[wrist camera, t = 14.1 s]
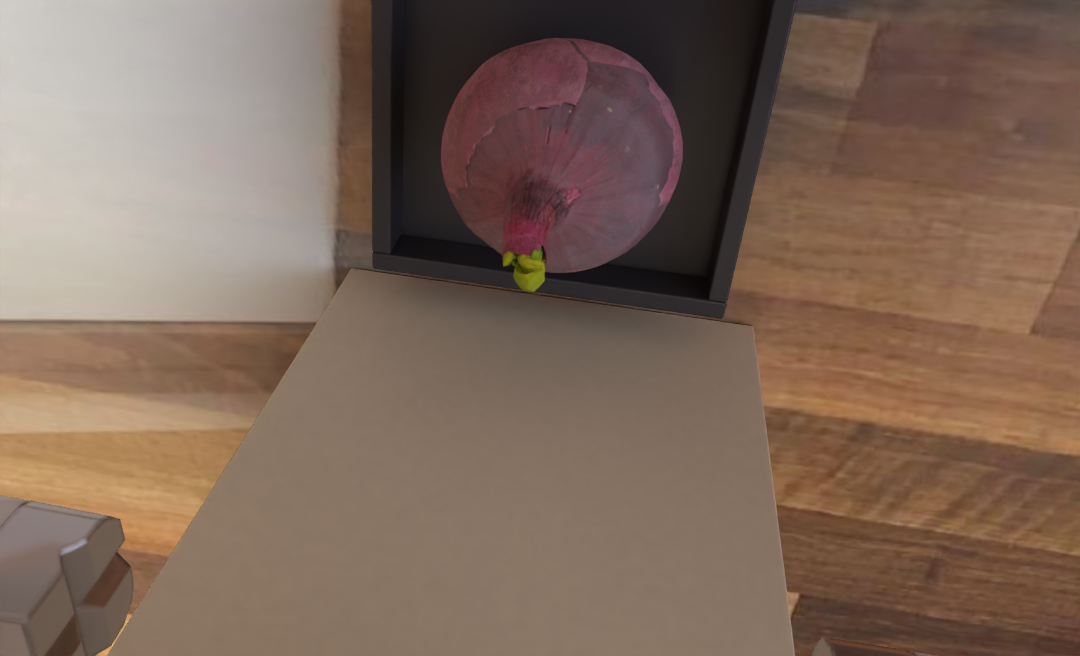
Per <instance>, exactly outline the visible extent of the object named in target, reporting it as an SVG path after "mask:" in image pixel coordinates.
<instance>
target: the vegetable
mask: <svg viewBox="0 0 1080 656" xmlns="http://www.w3.org/2000/svg"><path fill="white" fill-rule="evenodd" d="M682 160H683V141H682V135H681V129H680V125H679V122H678V119H677V116H676V113H675V110H674V108H673V106H672V104H671V102H670V100H669V98H668V97H667V96H666V95H665V93H664V92H663V91H662V89H661V88H660V87H659V86H658V85H657V83H656V82H655V80H654V79H653V77H652V76H651V75H650V73H649V72H648V71H647V70H646V69H645V68H644V67H643V66H642V65H641V64H640V63H639V62H638V61H636V60H635V59H634V58H632V57H631V56H629V55H628V54H626V53H624V52H622V51H620V50H618V49H616V48H613V47H611V46H608V45H605V44H601V43H597V42H593V41H589V40H584V39H573V38H548V39H542V40H539V41H534V42H529V43H525V44H521V45H518V46H515V47H512V48H509V49H506V50H504V51H502V52H501V53H499V54H497V55H495V56H493V57H491V58H490V59H488V60H487V61H486V62H484V63H483V64H482V65H481V66H480V67H479V68H478V69H477V70H476V72H475V73H474V74H473V75H472V76H471V77H470V78H469V80H468V81H467V82H466V83H465V85H464V86H463V87H462V88H461V90H460V92H459V93H458V95H457V97H456V99H455V101H454V103H453V105H452V108H451V110H450V112H449V114H448V117H447V120H446V124H445V127H444V132H443V136H442V147H441V163H442V173H443V177H444V180H445V184H446V187H447V190H448V192H449V195H450V198H451V200H452V202H453V204H454V206H455V208H456V210H457V211H458V213H459V215H460V216H461V218H462V220H463V221H464V223H465V224H466V225H467V226H468V227H469V229H470V230H471V231H472V232H473V233H474V234H475V235H477V236H478V237H479V238H481V239H482V240H483V241H484V242H485V243H487V244H488V245H489V246H490V247H492V248H493V249H494V250H496V251H497V252H498V253H500V254H501V255H502V256H503V266H509V265H511V264H512V265H513V266H515V270H514V275H513V277H514V279H515V282H516V283H517V284H518V286H519V287H520V288H521V289H522V290H524V291H526V292H534V291H535V290H536V289H538V288H539V287H540V286H541V284H542V283H543V282H544V281H545V272H550V273H568V272H578V271H582V270H587V269H591V268H594V267H597V266H600V265H602V264H604V263H607V262H609V261H611V260H613V259H615V258H617V257H618V256H620V255H622V254H624V253H625V252H627V251H628V250H629V249H631V248H632V247H633V246H635V245H637V243H638V242H639V241H640V240H641V239H642V238H643V237H644V236H645V235H646V234H647V233H648V232H649V231H650V230H651V229H652V228H653V227H654V225H655V224H656V223H657V222H658V220H659V219H660V217H661V216H662V214H663V212H664V210H665V208H666V206H667V204H668V203H669V201H670V199H671V197H672V194H673V192H674V190H675V187H676V185H677V182H678V178H679V175H680V171H681V165H682Z"/></svg>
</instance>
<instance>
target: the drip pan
mask: <svg viewBox="0 0 1080 656" xmlns="http://www.w3.org/2000/svg"><path fill="white" fill-rule="evenodd" d="M796 3H797V0H372V250H373V253H372V266H373V268H374V269H381V270H388V271H395V272H402V273H409V274H416V275H423V276H430V277H437V278H443V279H450V280H457V281H464V282H471V283H478V284H485V285H492V286H499V287H506V288H513V289H520V290H522V289H521V288H520V287H519V286H518V284H517V283H516V282H515V279H514V277H513V275H514V270H515V266H513V265H512V264H511V265H509V266H503V256H502V255H501V254H500V253H498V252H497V251H496V250H494V249H493V248H492V247H490V246H489V245H488V244H487V243H485V242H484V241H483V240H482V239H481V238H479V237H478V236H477V235H475V234H474V233H473V232H472V231H471V230H470V229H469V227H468V226H467V225H466V224H465V223H464V221H463V220H462V218H461V216H460V215H459V213H458V211H457V210H456V208H455V206H454V204H453V202H452V200H451V198H450V195H449V192H448V190H447V187H446V184H445V180H444V177H443V173H442V163H441V147H442V136H443V132H444V127H445V124H446V120H447V117H448V114H449V112H450V110H451V108H452V105H453V103H454V101H455V99H456V97H457V95H458V93H459V92H460V90H461V88H462V87H463V86H464V85H465V83H466V82H467V81H468V80H469V78H470V77H471V76H472V75H473V74H474V73H475V72H476V70H477V69H478V68H479V67H480V66H481V65H482V64H483V63H484V62H486V61H487V60H488V59H490V58H491V57H493V56H495V55H497V54H499V53H501V52H502V51H504V50H506V49H509V48H512V47H515V46H518V45H521V44H525V43H529V42H534V41H539V40H542V39H548V38H573V39H584V40H589V41H593V42H597V43H601V44H605V45H608V46H611V47H613V48H616V49H618V50H620V51H622V52H624V53H626V54H628V55H629V56H631V57H632V58H634V59H635V60H636V61H638V62H639V63H640V64H641V65H642V66H643V67H644V68H645V69H646V70H647V71H648V72H649V73H650V75H651V76H652V77H653V79H654V80H655V82H656V83H657V85H658V86H659V87H660V88H661V89H662V91H663V92H664V93H665V95H666V96H667V97H668V98H669V100H670V102H671V104H672V106H673V108H674V110H675V113H676V116H677V119H678V122H679V125H680V129H681V135H682V141H683V160H682V165H681V171H680V175H679V178H678V182H677V185H676V187H675V190H674V192H673V194H672V197H671V199H670V201H669V203H668V204H667V206H666V208H665V210H664V212H663V214H662V216H661V217H660V219H659V220H658V222H657V223H656V224H655V225H654V227H653V228H652V229H651V230H650V231H649V232H648V233H647V234H646V235H645V236H644V237H643V238H642V239H641V240H640V241H639V242H638V243H637V245H635V246H633V247H632V248H631V249H629V250H628V251H627V252H625V253H624V254H622V255H620V256H618V257H617V258H615V259H613V260H611V261H609V262H607V263H604V264H602V265H600V266H597V267H594V268H591V269H587V270H582V271H578V272H568V273H550V272H545V281H544V282H543V283H542V284H541V286H540V287H539V288H538V289H536V290H535V291H534V292H540V293H547V294H554V295H561V296H568V297H575V298H582V299H589V300H596V301H603V302H609V303H616V304H623V305H630V306H637V307H644V308H651V309H658V310H665V311H672V312H679V313H686V314H692V315H699V316H706V317H713V318H720V319H722V318H723V317H724V313H725V308H726V301H727V300H728V295H729V291H730V287H731V283H732V278H733V274H734V270H735V265H736V261H737V257H738V252H739V248H740V244H741V240H742V235H743V231H744V227H745V222H746V218H747V214H748V209H749V205H750V201H751V197H752V192H753V188H754V184H755V179H756V175H757V171H758V166H759V162H760V158H761V154H762V149H763V145H764V141H765V136H766V132H767V128H768V123H769V119H770V115H771V111H772V106H773V102H774V98H775V93H776V89H777V85H778V80H779V76H780V72H781V67H782V63H783V59H784V55H785V50H786V46H787V42H788V37H789V33H790V29H791V24H792V20H793V16H794V12H795V7H796Z"/></svg>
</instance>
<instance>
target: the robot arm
mask: <svg viewBox="0 0 1080 656" xmlns="http://www.w3.org/2000/svg"><path fill="white" fill-rule="evenodd" d="M124 541H125V537H124V533H123V529H122V525H121V521H120V519H118V518H114V517H111V516H106V515H101V514H96V513H91V512H86V511H81V510H76V509H71V508H66V507H61V506H56V505H51V504H46V503H41V502H36V501H29V500H24V499H19V498H13V497H8V496H3V495H0V656H95V655H96V654H98V653H100V652H101V651H103V650H105V649H106V648H108V647H110V646H111V645H112V643H113V642H114V640H115V639H116V637H117V635H118V634H119V632H120V630H121V629H122V627H123V625H124V623H125V620H126V617H127V614H128V611H129V608H130V605H131V602H132V596H133V576H132V570H131V566H130V565H129V564H128V563H127V562H126V561H125V560H124V559H123V558H122V557H121V556H120V555H119V554H118V553H117V551H118V549H119V548H120V547H121V545H122V544H123V542H124ZM812 656H935V655H929V654H923V653H917V652H913V653H912V652H910V651H909V650H903V649H896V648H890V647H884V646H877V645H871V644H865V643H858V642H852V641H846V640H839V639H833V638H827V637H822V638H821V639H820V640H819V641H818V642H817V644H816V646H815V649H814V651H813V653H812Z"/></svg>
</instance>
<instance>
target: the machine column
mask: <svg viewBox="0 0 1080 656" xmlns="http://www.w3.org/2000/svg"><path fill="white" fill-rule="evenodd" d="M107 656H795V652H794V644H793V636H792V628H791V620H790V612H789V605H788V597H787V589H786V581H785V573H784V565H783V557H782V549H781V541H780V534H779V526H778V518H777V510H776V502H775V494H774V486H773V478H772V470H771V463H770V455H769V447H768V439H767V431H766V423H765V415H764V407H763V399H762V392H761V384H760V376H759V368H758V360H757V352H756V344H755V336H754V328H753V326H747V325H740V324H733V323H727V322H720V321H713V320H706V319H699V318H692V317H685V316H678V315H671V314H664V313H657V312H651V311H644V310H637V309H630V308H623V307H616V306H609V305H602V304H595V303H588V302H581V301H575V300H568V299H561V298H554V297H547V296H540V295H533V294H526V293H519V292H512V291H505V290H499V289H492V288H485V287H478V286H471V285H464V284H457V283H450V282H443V281H436V280H429V279H423V278H416V277H409V276H402V275H395V274H388V273H381V272H374V271H367V270H360V269H353V268H351V269H350V271H349V273H348V274H347V276H346V277H345V279H344V280H343V282H342V284H341V285H340V287H339V288H338V290H337V292H336V293H335V295H334V296H333V298H332V300H331V301H330V303H329V304H328V306H327V307H326V309H325V311H324V312H323V314H322V315H321V317H320V319H319V320H318V322H317V323H316V325H315V327H314V328H313V330H312V331H311V333H310V334H309V336H308V338H307V339H306V341H305V342H304V344H303V346H302V347H301V349H300V350H299V352H298V353H297V355H296V357H295V358H294V360H293V361H292V363H291V365H290V366H289V368H288V369H287V371H286V373H285V374H284V376H283V377H282V379H281V380H280V382H279V384H278V385H277V387H276V388H275V390H274V392H273V393H272V395H271V396H270V398H269V400H268V401H267V403H266V404H265V406H264V407H263V409H262V411H261V412H260V414H259V415H258V417H257V419H256V420H255V422H254V423H253V425H252V426H251V428H250V430H249V431H248V433H247V434H246V436H245V438H244V439H243V441H242V442H241V444H240V446H239V447H238V449H237V450H236V452H235V453H234V455H233V457H232V458H231V460H230V461H229V463H228V465H227V466H226V468H225V469H224V471H223V473H222V474H221V476H220V477H219V479H218V480H217V482H216V484H215V485H214V487H213V488H212V490H211V492H210V493H209V495H208V496H207V498H206V500H205V501H204V503H203V504H202V506H201V507H200V509H199V511H198V512H197V514H196V515H195V517H194V519H193V520H192V522H191V523H190V525H189V526H188V528H187V530H186V531H185V533H184V534H183V536H182V538H181V539H180V541H179V542H178V544H177V546H176V547H175V549H174V550H173V552H172V553H171V555H170V557H169V558H168V560H167V561H166V563H165V565H164V566H163V568H162V569H161V571H160V573H159V574H158V576H157V577H156V579H155V580H154V582H153V584H152V585H151V587H150V588H149V590H148V592H147V593H146V595H145V596H144V598H143V599H142V601H141V603H140V604H139V606H138V607H137V609H136V611H135V612H134V614H133V615H132V617H131V619H130V620H129V622H128V623H127V625H126V626H125V628H124V630H123V631H122V633H121V634H120V636H119V638H118V639H117V641H116V642H115V644H114V646H113V647H112V649H111V650H110V652H109V653H108V655H107Z"/></svg>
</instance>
